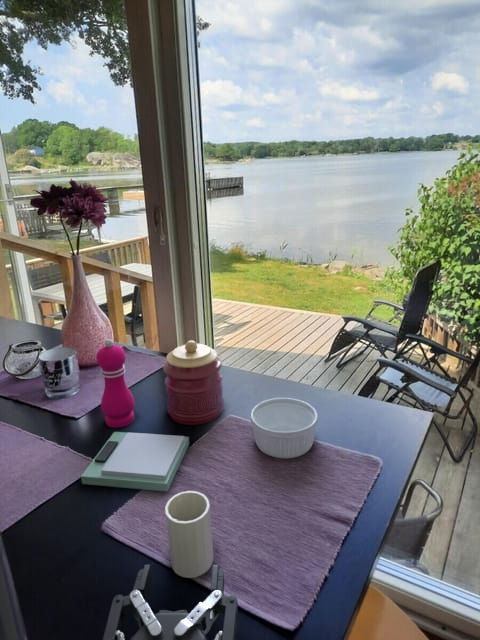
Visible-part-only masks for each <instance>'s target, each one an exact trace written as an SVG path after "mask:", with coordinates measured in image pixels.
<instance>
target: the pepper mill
mask: <svg viewBox="0 0 480 640" xmlns="http://www.w3.org/2000/svg"><path fill="white" fill-rule="evenodd" d="M126 359H127V355H126V352H125V350H124V348H123V347H121V346H120V345H118V344H114V340H113V339H111V338H107V339H105V341H104V346H102V347H100V348H99V349H98V351H97V353H96V363H97V365H98V366H99V367H100V372H101V373H100V374H101V376H102V377H103V379H104V390H103V393H102V397H101V401H100V410H101V413H102V414H104V415H105V416H104V420H105V424H106V426H108V427H110V428H115V429H116V428H123V427H126V426H128V425H130V424H132V423H133V422H134V421H135V412H134V411H133V410H134V409H135V405H136V401H135V397H134V396H133V393H132V391H130V389H129V387H128V386H127V383H126V381H125V373H126V366H125V364H124V363H126Z"/></svg>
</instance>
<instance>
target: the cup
mask: <svg viewBox="0 0 480 640" xmlns="http://www.w3.org/2000/svg"><path fill="white" fill-rule="evenodd" d="M164 513H165V522H166V532H167V539H168V548H169V557H170V565H171V569H172V570H173V571H174V573H175V574H177V576H179V577H182V578H186V579H193V578H197V577H200V576H202V575H204V574H206V572H208V571H209V570H210V568H211V567H212V566H213V561H214V557H215V556H214V544H213V529H212V518H211V504H210V500H209V498H208V497H207V496H206V495H205V494H204V493H202V492H199V491H196V490H186V491H181V492H179V493H177V494H175V495H173V496H171V498H169V499H168V500H167V502H166V504H165V507H164Z"/></svg>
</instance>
